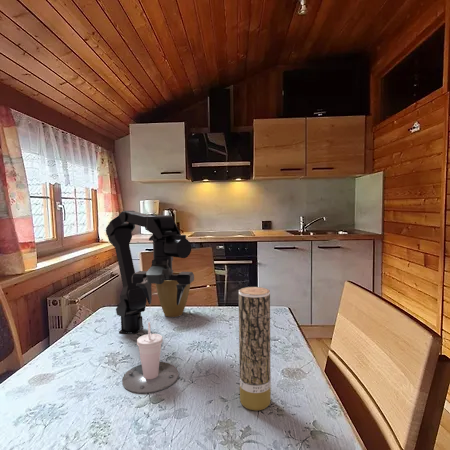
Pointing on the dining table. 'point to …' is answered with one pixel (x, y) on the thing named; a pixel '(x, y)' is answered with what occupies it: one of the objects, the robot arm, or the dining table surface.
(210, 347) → the dining table surface
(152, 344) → the smoothie
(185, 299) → the plant pot
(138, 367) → the flange plate
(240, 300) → the paper tube
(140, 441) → the dining table surface
